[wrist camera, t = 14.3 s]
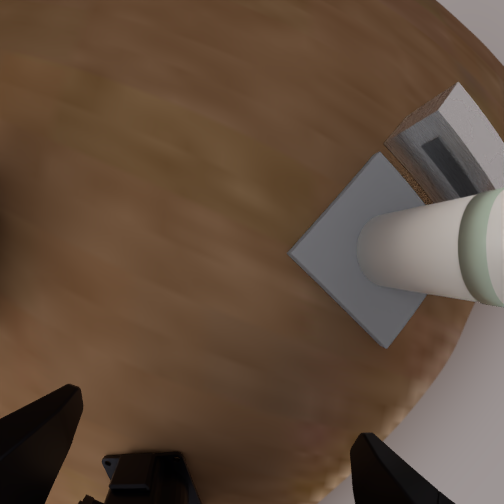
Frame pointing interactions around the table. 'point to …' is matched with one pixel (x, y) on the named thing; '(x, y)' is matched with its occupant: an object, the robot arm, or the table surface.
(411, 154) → the block
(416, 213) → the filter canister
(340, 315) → the table surface
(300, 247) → the dock mat
